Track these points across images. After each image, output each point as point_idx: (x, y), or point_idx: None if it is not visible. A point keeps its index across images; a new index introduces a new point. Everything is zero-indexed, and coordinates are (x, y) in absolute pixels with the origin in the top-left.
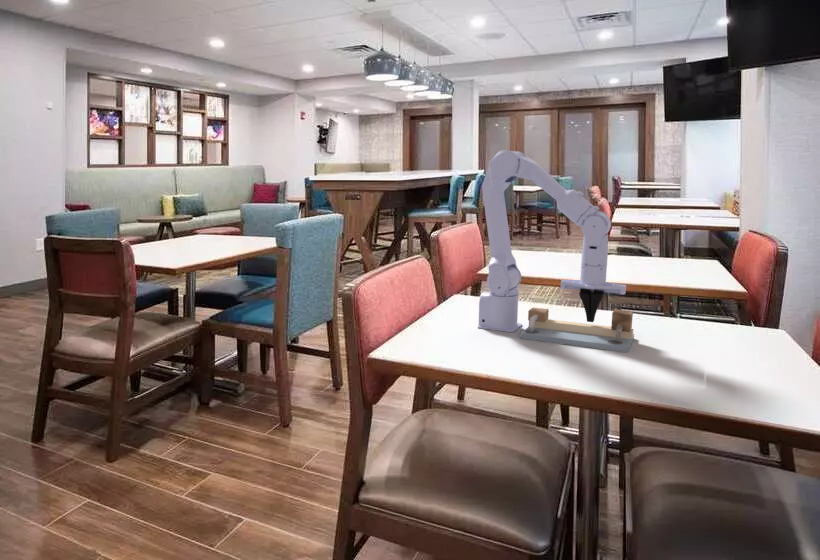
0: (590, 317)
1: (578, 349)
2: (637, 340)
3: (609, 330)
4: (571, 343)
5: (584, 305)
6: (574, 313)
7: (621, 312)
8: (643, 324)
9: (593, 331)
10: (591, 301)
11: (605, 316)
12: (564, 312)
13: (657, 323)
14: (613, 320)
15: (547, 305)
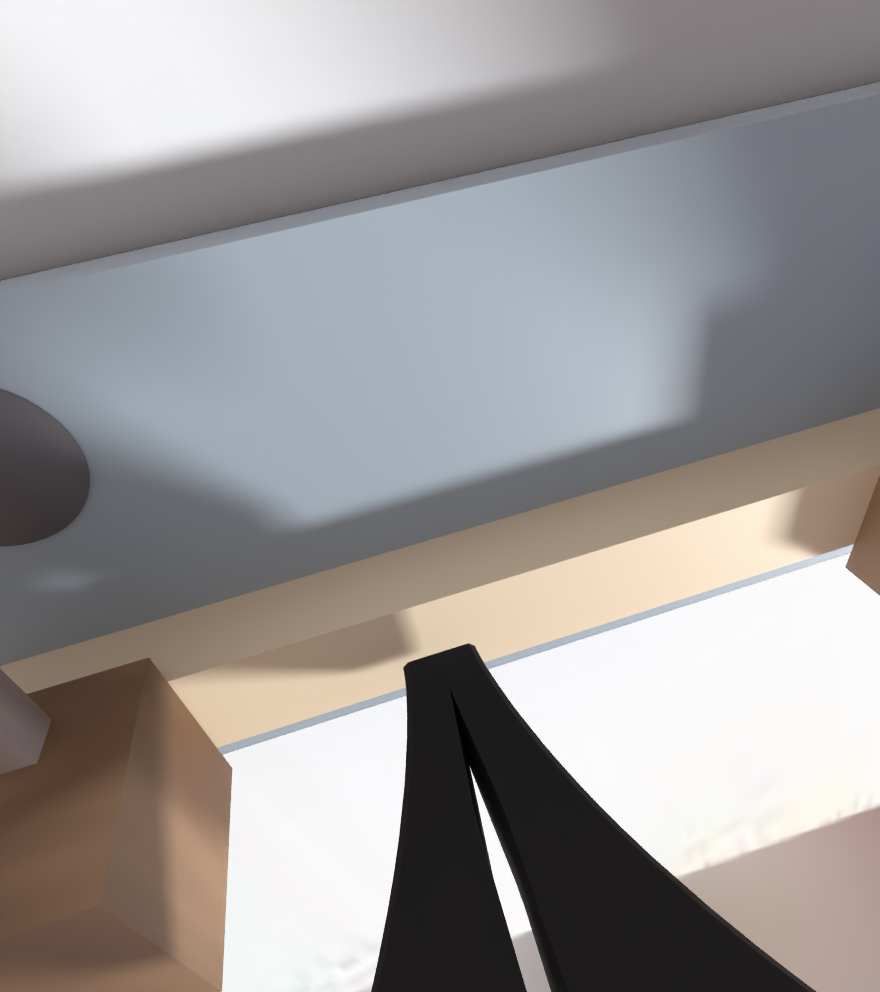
0: (444, 698)
1: (315, 58)
2: None
3: (196, 659)
4: (465, 177)
5: (604, 829)
6: (646, 837)
7: (19, 988)
8: (269, 938)
9: (367, 583)
10: (515, 985)
11: None
12: (694, 819)
13: (222, 981)
14: (101, 782)
15: (780, 832)
